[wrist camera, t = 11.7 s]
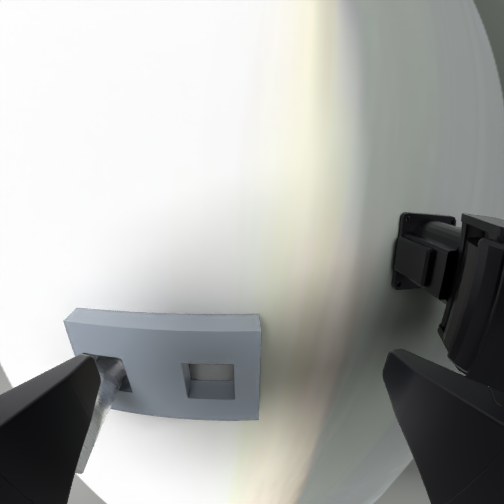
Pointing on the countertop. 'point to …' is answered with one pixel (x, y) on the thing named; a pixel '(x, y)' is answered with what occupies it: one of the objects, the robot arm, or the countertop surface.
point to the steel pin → (102, 402)
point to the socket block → (175, 360)
